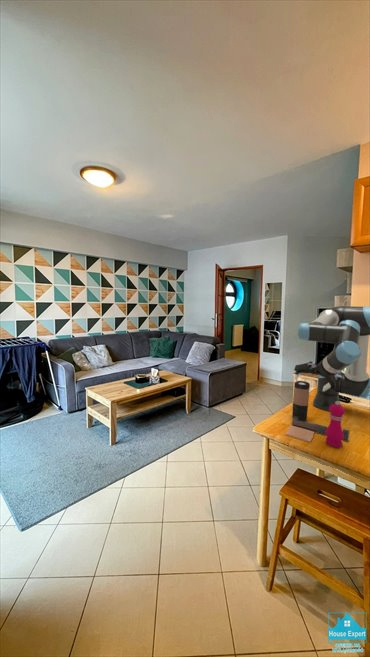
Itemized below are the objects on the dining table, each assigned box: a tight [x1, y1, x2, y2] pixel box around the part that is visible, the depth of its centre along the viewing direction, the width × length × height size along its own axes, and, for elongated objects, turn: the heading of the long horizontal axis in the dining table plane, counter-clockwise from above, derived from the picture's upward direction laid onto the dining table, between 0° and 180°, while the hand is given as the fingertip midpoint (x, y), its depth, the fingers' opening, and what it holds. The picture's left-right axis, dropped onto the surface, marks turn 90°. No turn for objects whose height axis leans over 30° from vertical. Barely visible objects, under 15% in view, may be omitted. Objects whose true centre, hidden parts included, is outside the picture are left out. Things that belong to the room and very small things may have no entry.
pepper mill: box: [324, 401, 346, 449], centre depth 114 cm, size 7×7×20 cm
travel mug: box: [291, 380, 311, 421], centre depth 139 cm, size 8×8×20 cm
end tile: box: [285, 424, 316, 444], centre depth 123 cm, size 11×11×1 cm
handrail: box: [291, 416, 350, 443], centre depth 125 cm, size 24×2×4 cm, turn 55°
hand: (309, 382), depth 124 cm, fingers open, 13 cm apart
